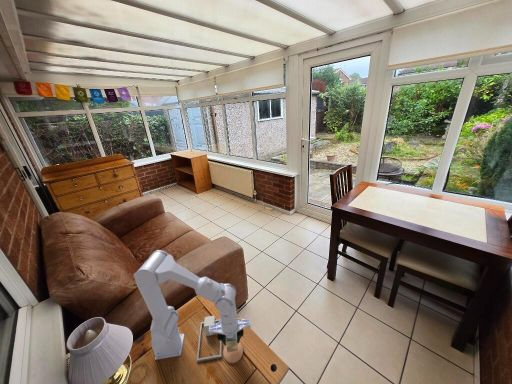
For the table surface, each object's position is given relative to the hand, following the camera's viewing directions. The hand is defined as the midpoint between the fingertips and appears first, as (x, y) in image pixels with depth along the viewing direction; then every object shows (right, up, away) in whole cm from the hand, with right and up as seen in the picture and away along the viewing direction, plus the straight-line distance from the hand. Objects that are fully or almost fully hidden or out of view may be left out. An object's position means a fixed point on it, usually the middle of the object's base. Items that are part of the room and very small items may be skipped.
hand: (232, 341), depth 76 cm
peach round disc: (0, -6, +2) cm, 6 cm away
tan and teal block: (0, -2, +1) cm, 2 cm away
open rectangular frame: (-10, -4, +7) cm, 12 cm away
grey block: (-10, -3, +10) cm, 15 cm away
